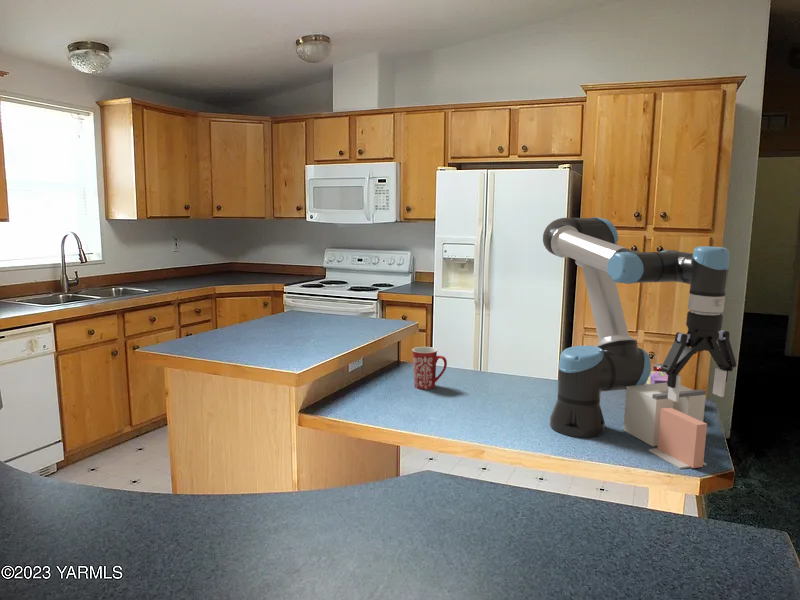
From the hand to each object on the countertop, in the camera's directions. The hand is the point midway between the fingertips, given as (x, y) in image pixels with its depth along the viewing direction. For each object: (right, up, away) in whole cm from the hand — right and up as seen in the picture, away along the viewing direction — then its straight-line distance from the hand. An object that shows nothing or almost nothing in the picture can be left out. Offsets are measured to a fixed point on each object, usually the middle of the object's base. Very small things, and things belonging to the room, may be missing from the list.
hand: (695, 397), depth 138 cm
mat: (-2, -16, +6) cm, 18 cm away
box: (+8, -12, +40) cm, 42 cm away
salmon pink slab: (-1, -16, +6) cm, 17 cm away
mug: (-62, -7, +63) cm, 88 cm away
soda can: (+15, -10, +50) cm, 53 cm away
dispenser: (+1, -14, +21) cm, 25 cm away
